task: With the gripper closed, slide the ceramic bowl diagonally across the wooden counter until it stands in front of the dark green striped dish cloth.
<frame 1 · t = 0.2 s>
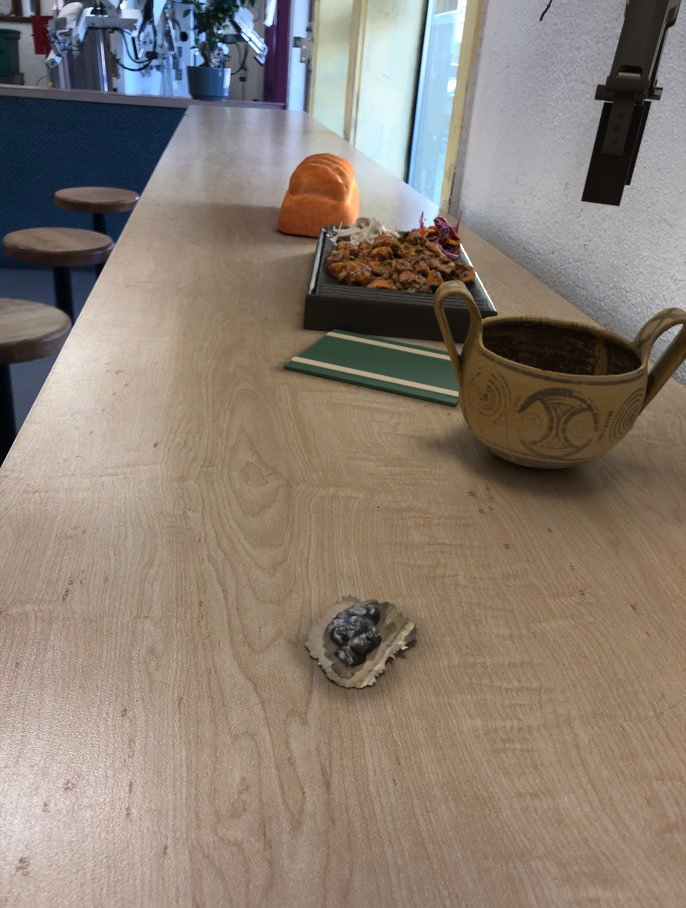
hand: (607, 193, 63), 23 cm above the bar counter, tool pointing down, fingers open, 13 cm apart
dish cloth: (388, 365, 93), on the bar counter
bread: (320, 224, 165), on the bar counter
food platter: (390, 292, 122), on the bar counter
dark lumps on shell: (360, 648, 49), on the bar counter
ceramic bowl: (529, 454, 75), on the bar counter
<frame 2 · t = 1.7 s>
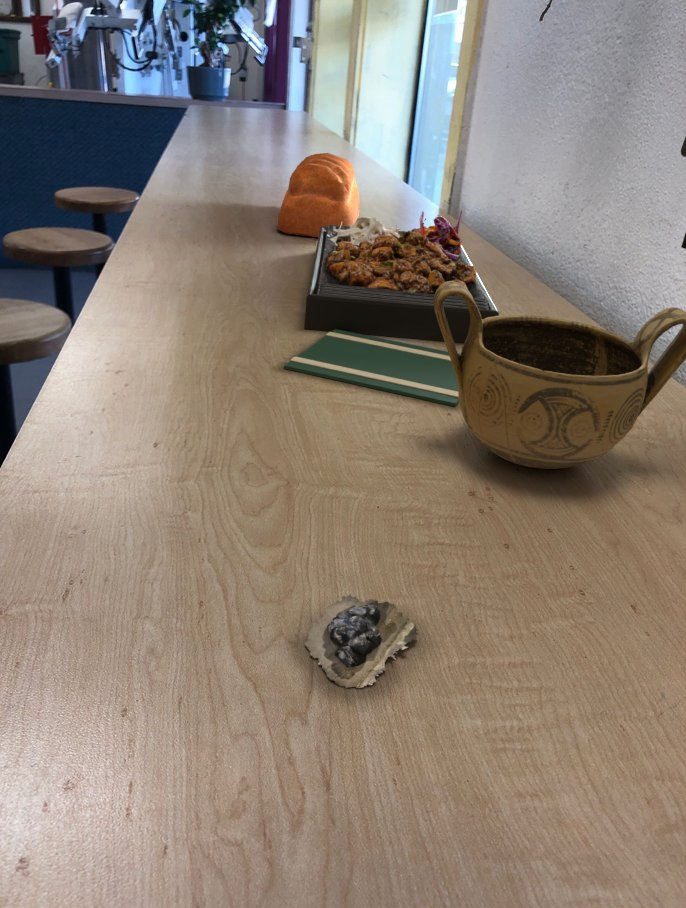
nothing on the bar counter moved.
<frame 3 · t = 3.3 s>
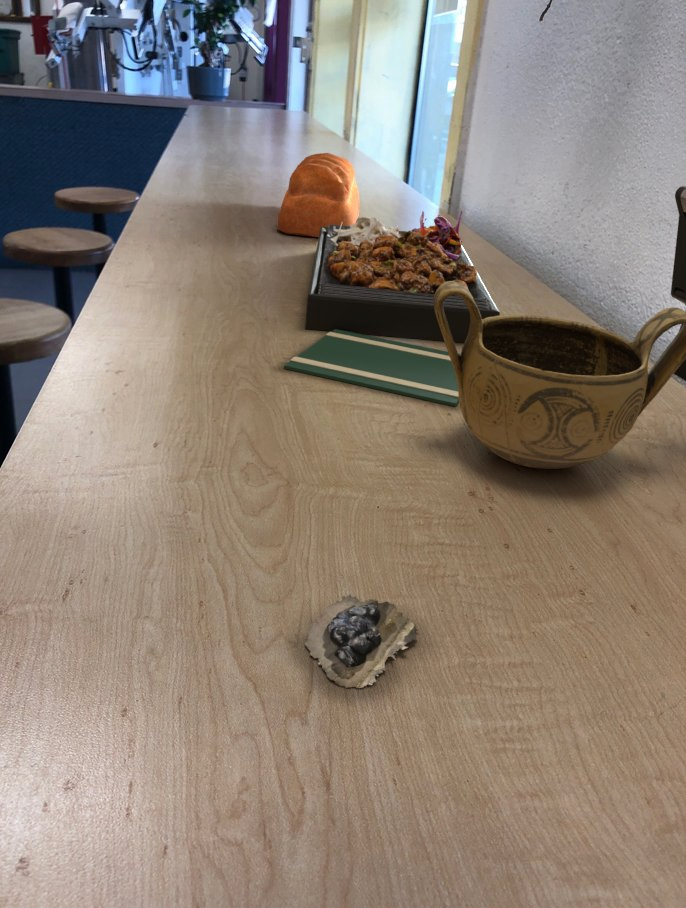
nothing on the bar counter moved.
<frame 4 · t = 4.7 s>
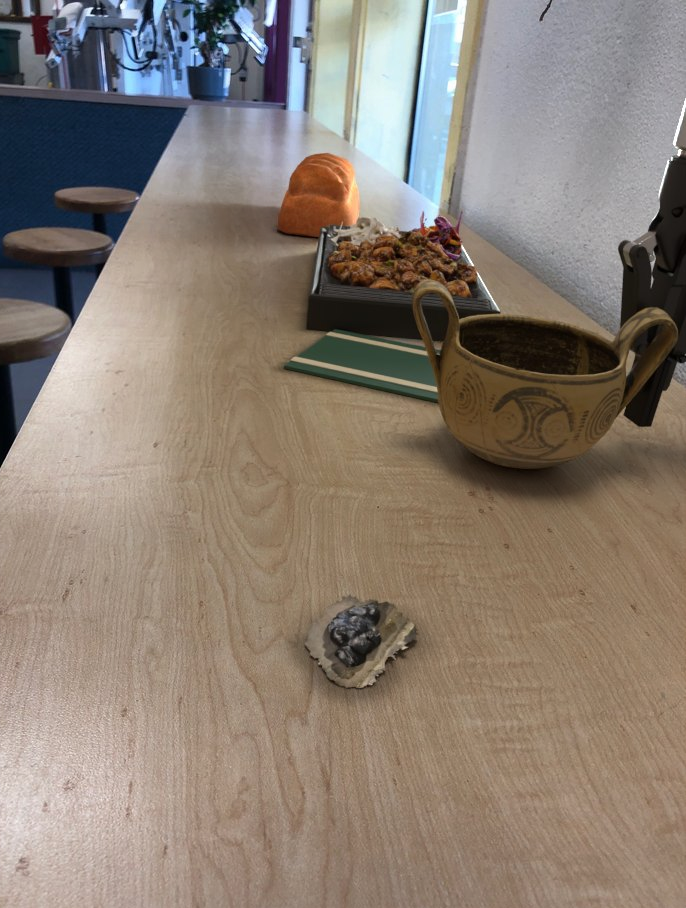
hand: (636, 420, 76), 3 cm above the bar counter, tool pointing down, fingers closed
food platter: (392, 292, 122), on the bar counter, touching dish cloth
ceramic bowl: (509, 454, 74), on the bar counter, touching hand
everything else where it was.
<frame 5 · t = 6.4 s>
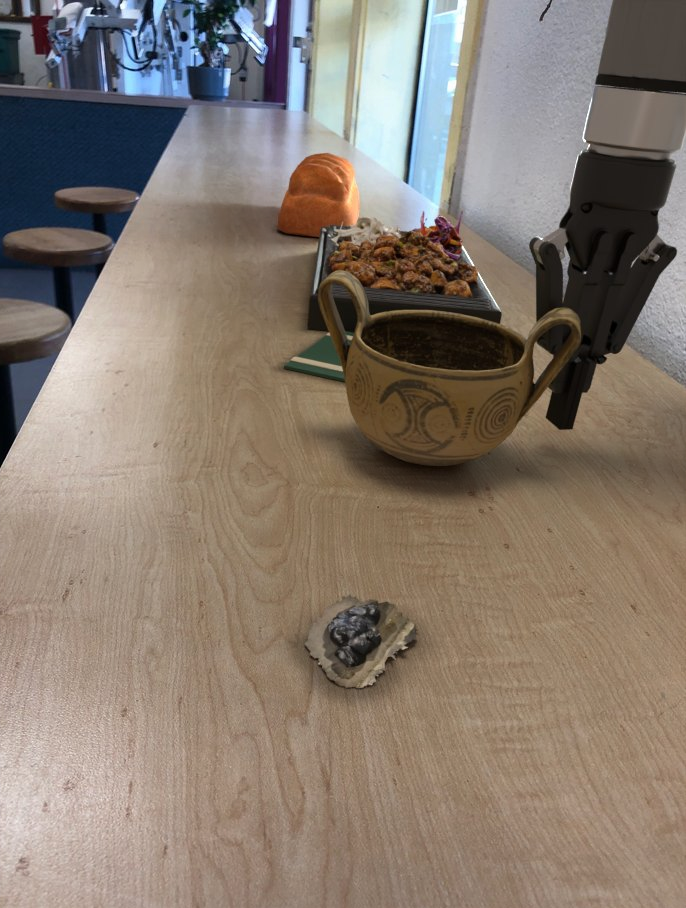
hand: (558, 423, 74), 3 cm above the bar counter, tool pointing down, fingers closed
food platter: (392, 292, 122), on the bar counter
ceramic bowl: (424, 451, 74), on the bar counter, touching hand
everything else where it was.
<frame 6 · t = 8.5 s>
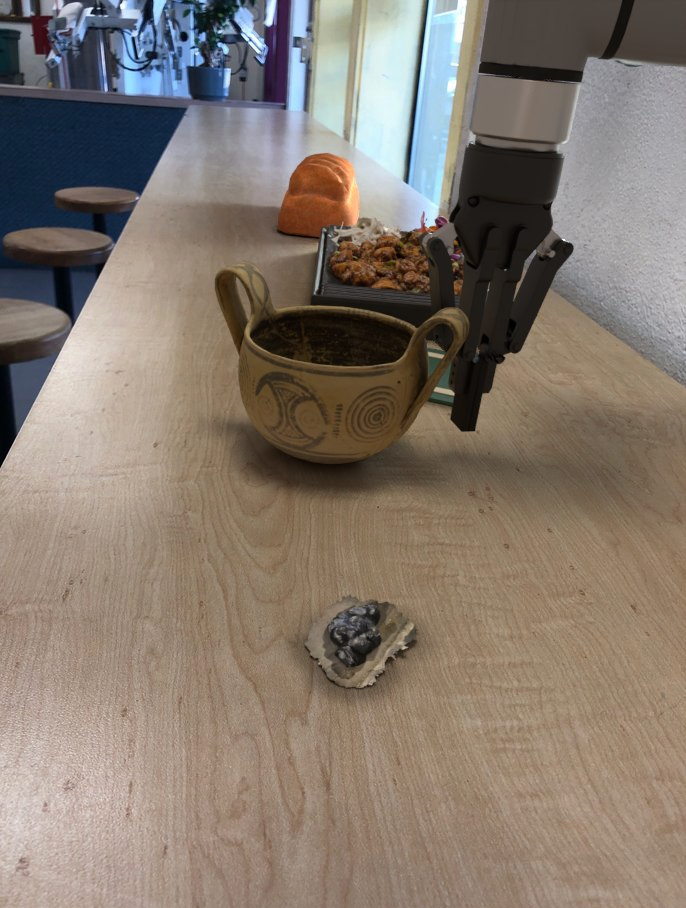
hand: (462, 425, 72), 3 cm above the bar counter, tool pointing down, fingers closed
ceramic bowl: (325, 449, 72), on the bar counter, touching hand
everything else where it was.
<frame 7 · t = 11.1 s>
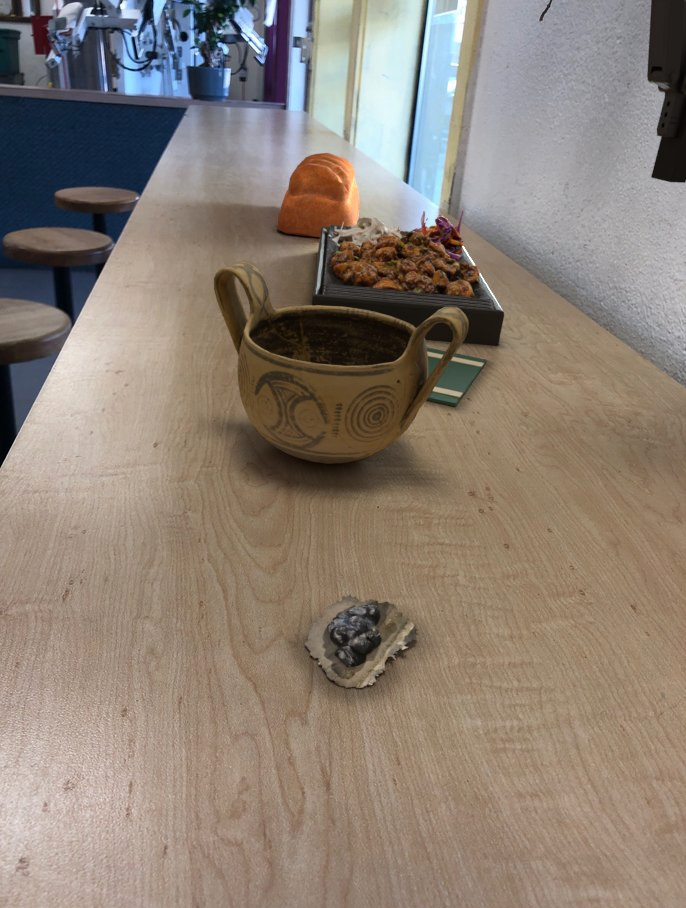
hand: (668, 179, 68), 24 cm above the bar counter, tool pointing down, fingers closed
ceramic bowl: (324, 448, 72), on the bar counter
everything else where it was.
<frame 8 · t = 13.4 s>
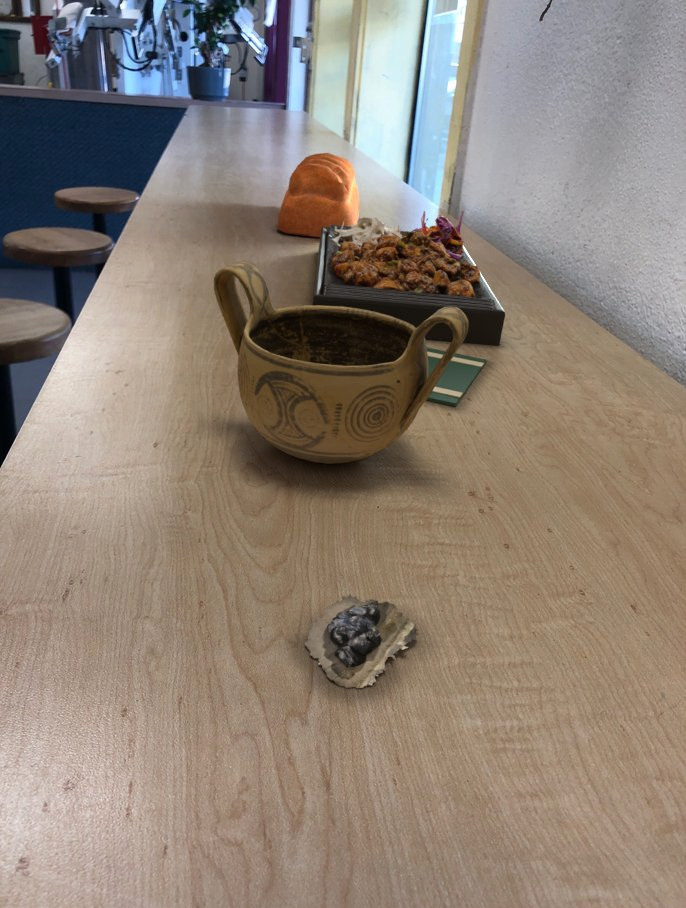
nothing on the bar counter moved.
at the end: ceramic bowl inside the target area on the bar counter beside the dish cloth (4.7 cm from its centre), on the bar counter; ceramic bowl tilted 0°; ceramic bowl touching bar counter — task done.
